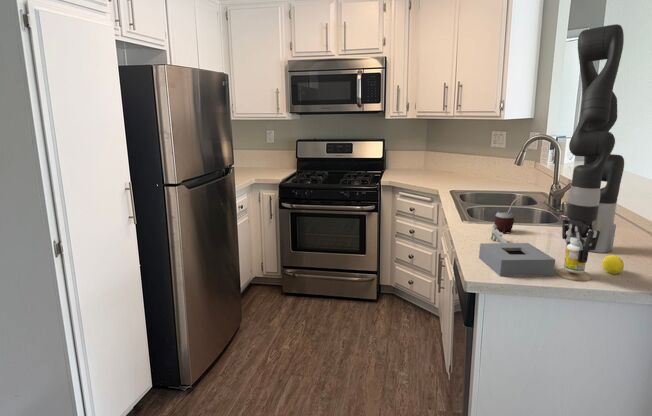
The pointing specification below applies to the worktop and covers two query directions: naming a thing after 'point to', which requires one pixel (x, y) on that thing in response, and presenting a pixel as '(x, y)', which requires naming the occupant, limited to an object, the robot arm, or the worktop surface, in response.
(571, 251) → the supplement bottle
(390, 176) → the worktop surface
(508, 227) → the mate gourd
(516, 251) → the box
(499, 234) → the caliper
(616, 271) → the lemon
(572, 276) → the cork coaster
